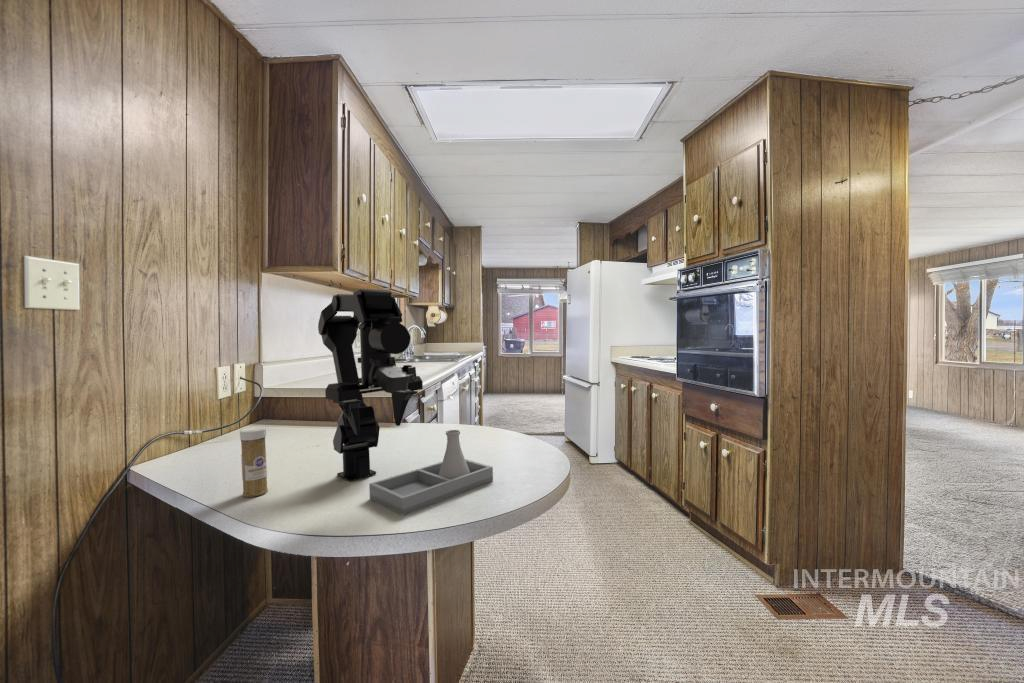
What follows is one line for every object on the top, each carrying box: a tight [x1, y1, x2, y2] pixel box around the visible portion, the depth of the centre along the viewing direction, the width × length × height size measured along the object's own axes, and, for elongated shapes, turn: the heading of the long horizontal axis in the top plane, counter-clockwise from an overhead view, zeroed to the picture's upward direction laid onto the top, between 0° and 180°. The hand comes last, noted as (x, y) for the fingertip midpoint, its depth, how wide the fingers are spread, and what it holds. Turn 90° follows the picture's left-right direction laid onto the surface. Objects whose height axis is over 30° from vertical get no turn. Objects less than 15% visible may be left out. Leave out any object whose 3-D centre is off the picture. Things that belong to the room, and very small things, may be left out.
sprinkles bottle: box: [239, 426, 269, 498], centre depth 90 cm, size 5×5×14 cm
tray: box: [368, 458, 494, 516], centre depth 90 cm, size 12×22×3 cm, turn 137°
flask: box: [439, 429, 470, 480], centre depth 93 cm, size 7×7×10 cm
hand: (378, 429), depth 88 cm, fingers open, 9 cm apart
